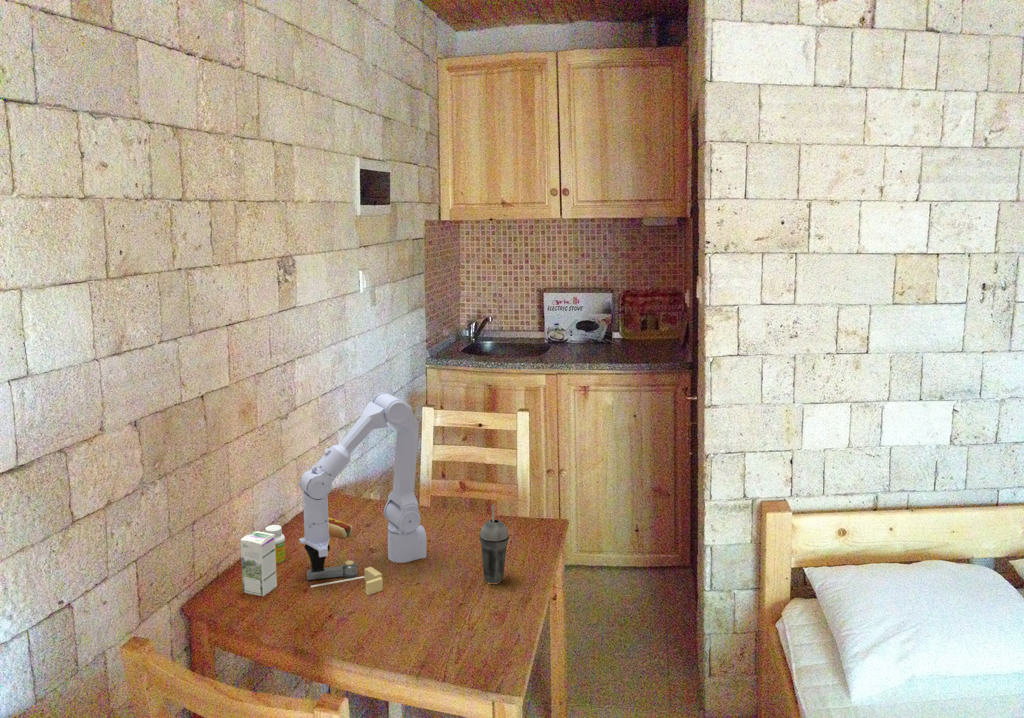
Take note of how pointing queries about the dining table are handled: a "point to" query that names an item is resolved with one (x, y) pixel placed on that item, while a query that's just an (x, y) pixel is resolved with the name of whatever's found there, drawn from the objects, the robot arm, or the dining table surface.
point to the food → (339, 528)
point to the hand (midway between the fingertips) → (318, 572)
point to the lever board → (370, 575)
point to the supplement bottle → (278, 541)
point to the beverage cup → (493, 549)
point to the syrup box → (258, 563)
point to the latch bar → (333, 572)
